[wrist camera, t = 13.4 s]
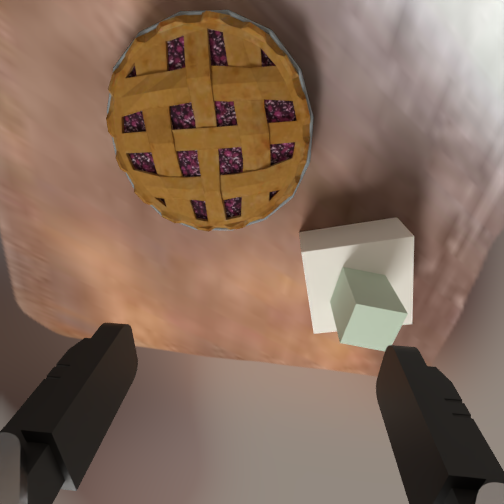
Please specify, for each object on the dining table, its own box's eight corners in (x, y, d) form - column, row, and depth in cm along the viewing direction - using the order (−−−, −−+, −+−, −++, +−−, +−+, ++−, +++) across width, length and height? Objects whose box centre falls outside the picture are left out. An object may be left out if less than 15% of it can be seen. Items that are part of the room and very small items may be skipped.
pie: (90, 43, 33) (60, 35, 28) (299, -11, 29) (302, -28, 25) (156, 232, 42) (141, 248, 38) (319, 209, 39) (324, 224, 35)
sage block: (342, 266, 36) (356, 303, 30) (385, 275, 36) (407, 313, 30) (329, 301, 38) (340, 342, 32) (370, 309, 38) (388, 351, 32)
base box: (298, 231, 41) (301, 252, 35) (396, 216, 39) (414, 236, 33) (310, 305, 46) (313, 333, 41) (396, 295, 44) (412, 323, 39)
